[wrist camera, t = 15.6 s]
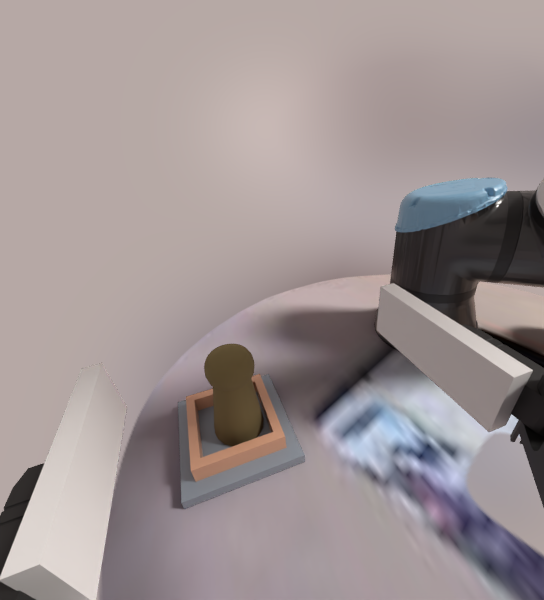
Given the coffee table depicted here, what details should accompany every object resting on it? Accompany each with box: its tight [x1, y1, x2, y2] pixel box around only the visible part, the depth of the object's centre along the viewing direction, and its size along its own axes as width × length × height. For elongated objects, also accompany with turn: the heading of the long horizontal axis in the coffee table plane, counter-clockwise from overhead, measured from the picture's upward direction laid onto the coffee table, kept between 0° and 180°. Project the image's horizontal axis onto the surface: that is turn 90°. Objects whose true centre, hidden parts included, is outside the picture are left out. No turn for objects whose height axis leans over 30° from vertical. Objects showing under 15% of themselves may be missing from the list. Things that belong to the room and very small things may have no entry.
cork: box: [204, 344, 264, 446], centre depth 32 cm, size 6×6×11 cm
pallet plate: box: [178, 374, 305, 509], centre depth 34 cm, size 13×13×3 cm
